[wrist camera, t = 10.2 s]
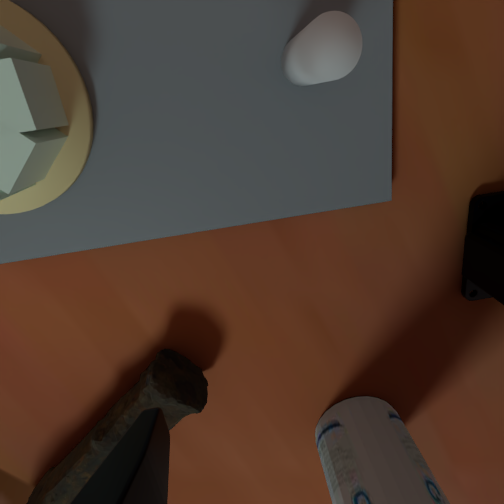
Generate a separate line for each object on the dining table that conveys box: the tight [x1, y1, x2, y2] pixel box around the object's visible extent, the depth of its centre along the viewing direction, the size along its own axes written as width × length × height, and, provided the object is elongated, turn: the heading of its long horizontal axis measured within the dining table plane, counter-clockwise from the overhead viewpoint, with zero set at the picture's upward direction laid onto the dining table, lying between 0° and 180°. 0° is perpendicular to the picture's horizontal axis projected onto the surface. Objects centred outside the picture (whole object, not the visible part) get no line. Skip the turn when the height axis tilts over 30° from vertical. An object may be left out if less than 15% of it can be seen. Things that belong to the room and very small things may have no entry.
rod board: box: [0, 0, 393, 264], centre depth 14 cm, size 22×14×6 cm, turn 98°
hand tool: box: [27, 349, 208, 504], centre depth 23 cm, size 19×4×5 cm, turn 134°
